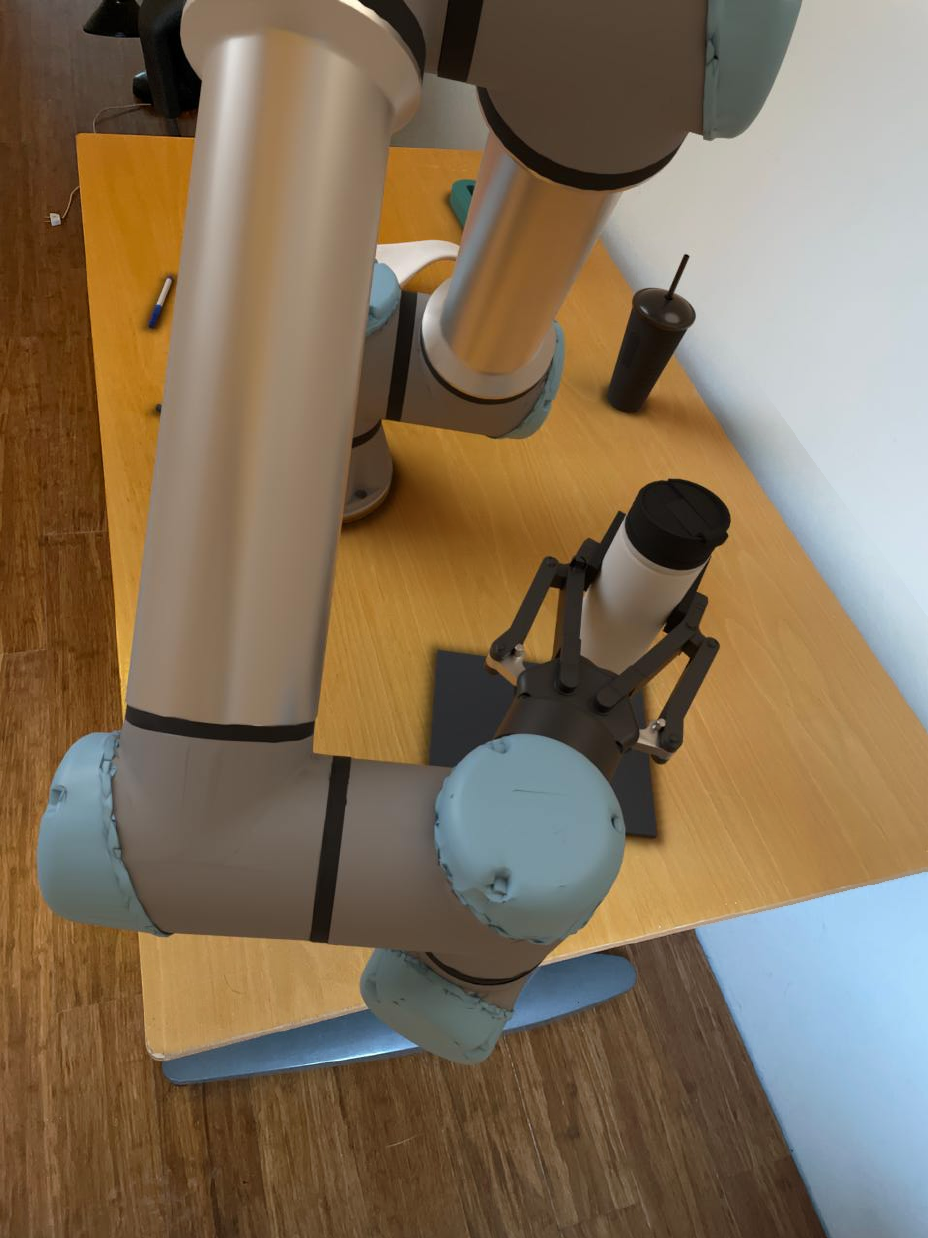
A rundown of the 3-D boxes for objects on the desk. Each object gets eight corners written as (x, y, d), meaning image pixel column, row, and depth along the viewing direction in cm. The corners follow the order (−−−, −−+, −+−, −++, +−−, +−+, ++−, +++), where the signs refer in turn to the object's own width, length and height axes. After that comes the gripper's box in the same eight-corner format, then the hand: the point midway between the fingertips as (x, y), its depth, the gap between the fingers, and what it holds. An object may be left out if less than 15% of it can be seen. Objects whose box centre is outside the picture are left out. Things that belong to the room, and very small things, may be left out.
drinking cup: (651, 426, 103) (719, 283, 87) (593, 409, 103) (651, 263, 87) (654, 390, 108) (720, 248, 92) (599, 374, 107) (655, 228, 91)
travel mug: (581, 713, 65) (682, 551, 49) (540, 648, 68) (623, 477, 52) (642, 689, 68) (757, 528, 52) (600, 627, 71) (696, 458, 55)
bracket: (523, 258, 121) (537, 206, 114) (481, 259, 118) (492, 206, 112) (483, 193, 130) (494, 142, 124) (444, 193, 128) (452, 140, 121)
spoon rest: (319, 329, 102) (322, 276, 96) (297, 274, 108) (298, 222, 102) (491, 319, 110) (503, 270, 104) (462, 268, 116) (471, 220, 110)
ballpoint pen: (155, 330, 97) (154, 322, 96) (148, 328, 97) (146, 321, 96) (173, 279, 103) (172, 272, 102) (166, 278, 103) (165, 271, 102)
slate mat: (425, 812, 67) (426, 810, 67) (436, 652, 77) (437, 649, 76) (655, 838, 70) (657, 836, 69) (638, 680, 79) (641, 677, 79)
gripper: (393, 734, 53) (534, 521, 67) (662, 885, 50) (751, 631, 64) (408, 673, 47) (559, 453, 61) (714, 840, 44) (800, 571, 58)
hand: (657, 545), depth 62 cm, fingers closed on travel mug, 6 cm apart
